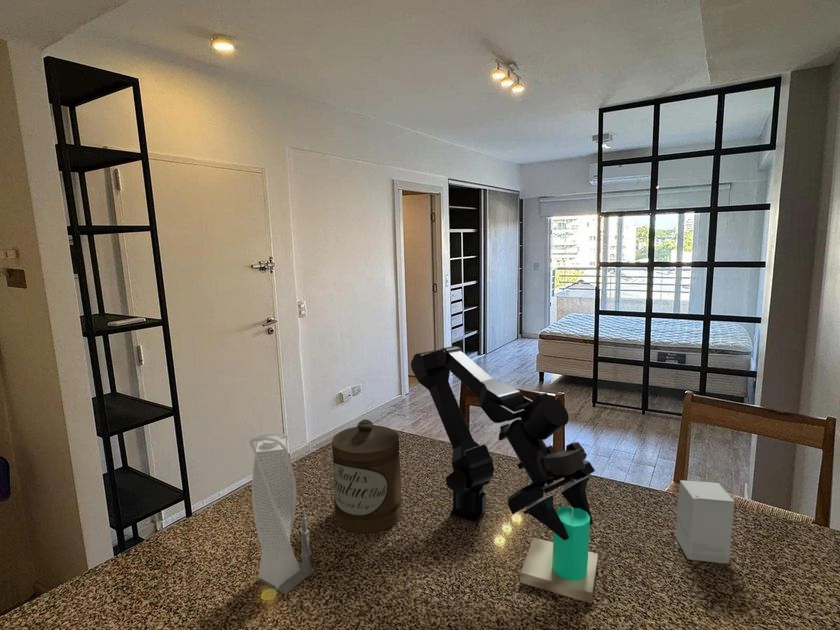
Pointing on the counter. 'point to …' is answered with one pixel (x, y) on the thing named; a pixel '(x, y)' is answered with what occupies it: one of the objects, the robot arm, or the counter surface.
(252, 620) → the counter surface
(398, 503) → the wooden container
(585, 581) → the beige square slab
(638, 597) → the counter surface
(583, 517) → the candle
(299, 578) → the skyscraper
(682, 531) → the supplement box
